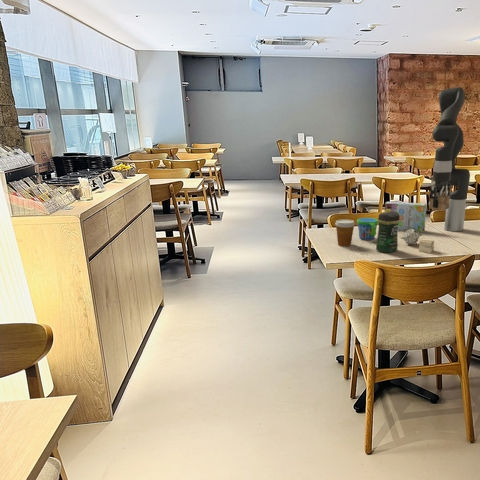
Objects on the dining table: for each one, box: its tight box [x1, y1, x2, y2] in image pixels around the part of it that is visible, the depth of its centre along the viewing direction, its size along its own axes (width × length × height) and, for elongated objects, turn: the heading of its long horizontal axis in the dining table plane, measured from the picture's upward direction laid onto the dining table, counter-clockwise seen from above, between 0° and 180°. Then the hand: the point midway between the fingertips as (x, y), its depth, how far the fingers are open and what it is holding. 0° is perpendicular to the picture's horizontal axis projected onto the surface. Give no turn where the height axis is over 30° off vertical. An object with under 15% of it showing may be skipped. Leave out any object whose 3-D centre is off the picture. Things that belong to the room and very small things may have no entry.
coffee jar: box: [375, 211, 399, 254], centre depth 202 cm, size 10×8×19 cm
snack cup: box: [356, 217, 379, 241], centre depth 225 cm, size 16×10×10 cm
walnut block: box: [429, 194, 450, 211], centre depth 202 cm, size 6×6×6 cm
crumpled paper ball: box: [400, 228, 422, 247], centre depth 212 cm, size 9×8×10 cm
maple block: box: [418, 238, 435, 254], centre depth 201 cm, size 5×5×5 cm
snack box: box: [383, 201, 428, 233], centre depth 240 cm, size 21×6×15 cm, turn 58°
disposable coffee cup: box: [334, 218, 356, 247], centre depth 215 cm, size 10×10×12 cm
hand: (439, 206), depth 202 cm, fingers closed on walnut block, 6 cm apart
